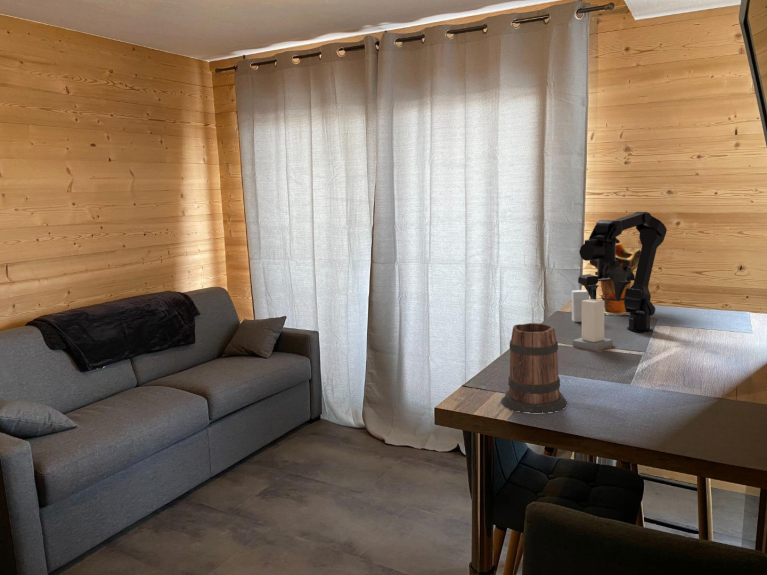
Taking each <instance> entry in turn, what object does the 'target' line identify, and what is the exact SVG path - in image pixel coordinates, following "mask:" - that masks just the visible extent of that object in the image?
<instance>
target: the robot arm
mask: <svg viewBox="0 0 767 575" xmlns="http://www.w3.org/2000/svg"><path fill="white" fill-rule="evenodd" d="M595 223H596V224H595V225H594V227H593V229H592V231H591V233H590V236H589V237H588V239H585V240H584V243H583V244H582V245H581V247H580V249H579V255H580V257H581V259H582V260H583V261H587V262H588V261H589V262H590V260H595V259H598V260H595V263H598V270H597V271H595V272H594V273H595V274H589V273H588V274H580V275H579V277H578V278H577V279H578V280H577V283H578V284H580V285H581V286H582V287H584V288H585V290H587V292H588V294H589V299H596V300H597V290H598V287H599V285H598V283H599V282H601V281H606V280H612V281H613V282H614V289H615V298H616V301H619V300H620V297H621V295H622V292H623V290H624V288H625V286H626V285H627V284H629V283H632V282H633V284H632V285H630V288H627V289H626V291H625V296H624V298H623V299H624V305H625V309H626V312H627V313H630V315H629V318H628V326H627V327H626V329H627V328H628V329H627V330H629V329H631V330H630V331H632V330H634V331H633V332H635V331H637V332H636V333H642V332H641V331H645V332H650V331H649V330H652V331H653V330H654V329H653V328H651V316H653V315H655V312H656V307H655V306H654V304H653V303H652V301H651V298H652V295H651V292H650V289H649V284H650V280H651V279H650V278H651V276H652V270H653V266H654V263H655V258H656V253H657V249H658V247H660V246H661V245H662V243H664V240H665V237H666V235H667V230H668V229H667V227H666V225H665V224H664V223H663V222H662V221H661V220H660V219H658V218H656V217H654V216H653V215H651V213H649V212H647V211H636V212H634V213H631V214H629V215H625V216H622V217H619V218H616V219H600V220H598V221H597V222H595ZM632 228H635V230H636V231H638V233H639V234H638V235H639V236H638V237H639V241H640V244H641V248H640V251H641V253H640V257H639V261H638V266H637V268H636V269H635V273H634V271H633V272H631V267H630V266H624V267H619V263H618V261H616V245H617V244H620V243H621V241H620V240H619V239H618V238H617V237H618V236H620V235H622V233H623V232H624V231H626V230H629V229H632Z"/></svg>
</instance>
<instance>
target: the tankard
mask: <svg viewBox="0 0 767 575" xmlns="http://www.w3.org/2000/svg"><path fill="white" fill-rule="evenodd" d="M511 331H512V332H511V337H510V338H511V339H510V341H509V350H510V352H509V353H510V354H509V355H510V356H509V357H510V358H509V375H508V384H507V385H508V386H509V387H508V388H509V389H508V390H507V391H506V392H505V394H504V396H503V397H502V398H501V401H500V403H501V405H502V406H503V407H504V408H505V407H506V409H507V408H508V409H507V410H509V409H510V410H509V411H512V410H513V411H512V412H515V411H520V412H530V413H542V412H543V413H548V412H555V411H560V410H562V409H563V408H565V407H566V405H567V402H568V400H567V399H566V398H565V396H564V395H563V394H562V393H561V391H560V388H561V387H560V386H561V378H560V377H559V363H558V362H559V361H558V360H559V359H558V350H559V342H558V341H557V337H556V332H555V327H554V326H552V325H550V324H549V325H548V324H546V323H538V322H531V323H523V324H520V323H519V324H515V325H513V326H512V330H511ZM566 400H567V401H566ZM566 408H567V407H566ZM566 408H565V409H566ZM562 411H563V410H562ZM560 412H561V411H560Z"/></svg>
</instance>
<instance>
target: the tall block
mask: <svg viewBox="0 0 767 575" xmlns="http://www.w3.org/2000/svg"><path fill="white" fill-rule="evenodd" d="M581 337H582V340H586V341H590V342H597V341H601V340H604V338H605V314H604V300H602V299H597V298H596V299H591V298H589V299H588V300H583V301H582V322H581Z"/></svg>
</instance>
